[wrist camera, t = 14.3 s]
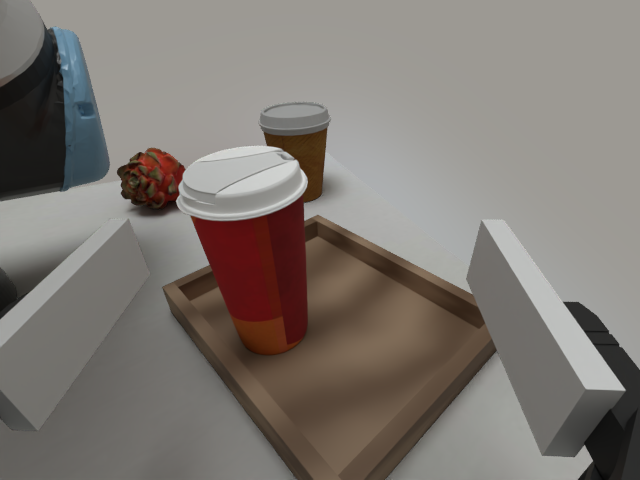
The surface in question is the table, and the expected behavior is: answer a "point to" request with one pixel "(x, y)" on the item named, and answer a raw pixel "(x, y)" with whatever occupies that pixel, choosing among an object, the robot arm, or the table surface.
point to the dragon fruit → (151, 178)
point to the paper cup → (253, 240)
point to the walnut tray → (346, 356)
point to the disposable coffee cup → (299, 138)
